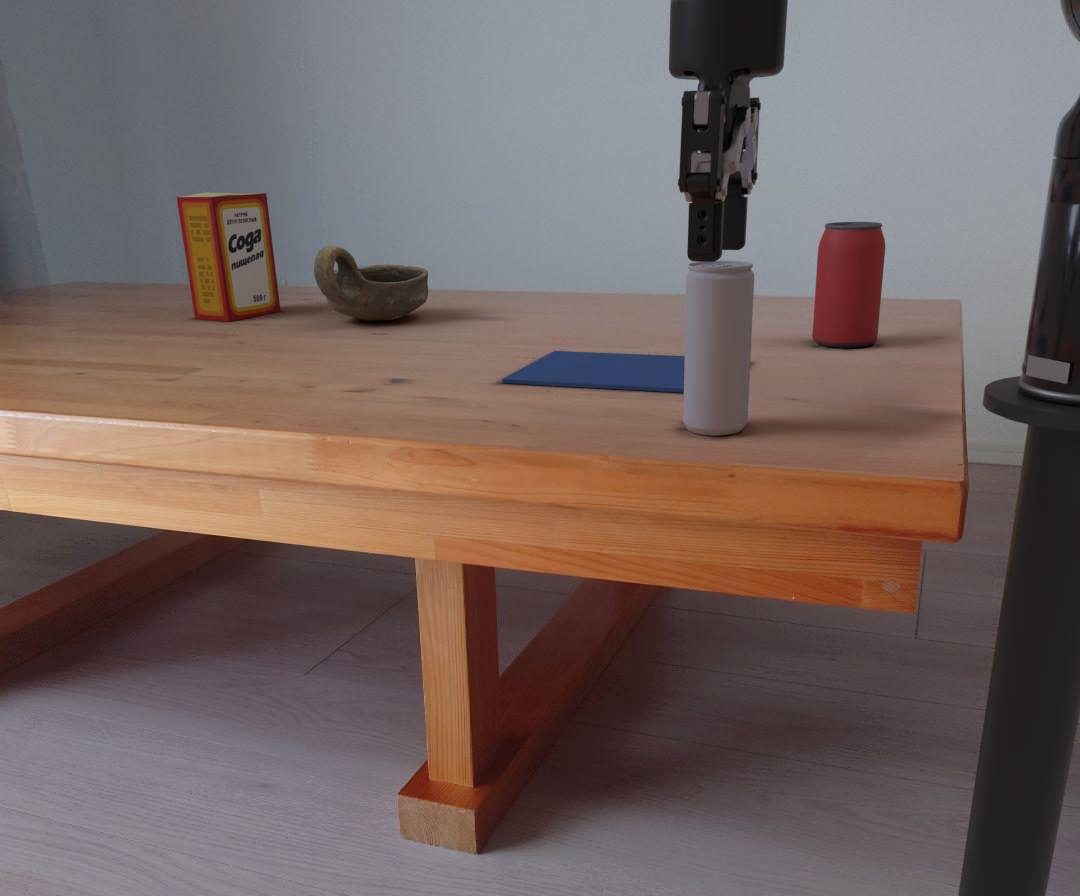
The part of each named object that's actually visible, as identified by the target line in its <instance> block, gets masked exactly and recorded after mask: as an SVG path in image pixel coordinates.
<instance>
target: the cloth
mask: <svg viewBox="0 0 1080 896" xmlns="http://www.w3.org/2000/svg"><path fill="white" fill-rule="evenodd" d="M684 366H685V355H669V354H668V355H667V354H666V355H665V354H641V353H620V352H619V353H618V352H617V353H616V352H593V351H567V350H565V351H564V350H554V351H552V352H549V353H548V354H546V355H543V356H542V357H540V358H539V359H536V360H535V361H533V362H531V363H529V364H528V365H526V366H524V367H522V368H520V369H518V370H517V371H514V372H513V373H511V374H509V375H507V376H505V377H503V378H502V380H501V384H508V385H511V384H513V385H530V386H546V387H547V386H548V387H565V388H566V387H567V388H586V389H587V388H588V389H589V388H590V389H604V390H605V389H607V390H625V391H640V392H641V391H642V392H643V391H644V392H659V393H661V392H663V393H680V394H681V393H683V394H684Z"/></svg>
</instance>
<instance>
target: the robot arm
mask: <svg viewBox="0 0 1080 896" xmlns="http://www.w3.org/2000/svg"><path fill="white" fill-rule="evenodd" d="M788 2H789V0H670V4H669V5H670V6H669V40H668V43H669V46H668V47H669V48H668V72H669V74H670V75H671V76H672V77H673V78H675V79H678V80H687V81H688V80H689V81H698V84H697V90H684V91H683V94H682V97H681V126H680V127H681V128H680V129H681V130H680V148H679V149H680V150H679V151H680V153H679V173H678V174H679V175H678V176H679V178H678V179H677V187H678V190H679V193H683V194H684V195H683V196H684V198H685V201H686V202H687V203H688V218H687V219H688V220H687V221H688V222H687V224H688V225H687V248H686V249H687V250H686V251H687V252H686V253H687V258H688V259H689V261H691V262H714V261H720V259H721V258H722V256H723V251H739V250H742V249H743V248H744V247H745V245H746V243H747V242H746V239H747V222H748V221H747V220H748V205H749V204H748V202H749V196H750V195H751V193H752V190H753V188H754V186H755V185H756V183H757V180H758V176H759V175H758V172H757V171H758V149H759V148H758V147H759V129H760V128H759V127H760V111H761V108H762V104H761V102H760V97H759V96H757V97H751V88H750V84H751V82H752V80H753V79H755V78H768V77H773V76H777V75H779V74H780V73H781V72H782V71H783V68H784V64H785V50H786V37H787V35H786V33H787V32H786V31H787V19H788V5H789V3H788ZM1059 5H1060V9H1061V13H1062V16H1063V20H1064V22H1065V25H1066V26H1067V28H1068V30H1069V31H1070V33H1071V35H1072V36H1073V37H1074V39H1075V40H1076V41H1077V42H1078V43H1080V0H1059ZM1053 146H1054V147H1053V151H1052V152H1053V153H1052V157H1053V158H1052V159H1051V166H1050V174H1049V180H1048V187H1047V194H1046V199H1045V200H1046V202H1045V207H1044V216H1043V221H1042V228H1041V229H1042V230H1041V235H1040V241H1039V250H1038V257H1037V264H1036V270H1035V271H1036V272H1035V278H1034V286H1033V292H1032V299H1031V306H1030V312H1029V313H1030V314H1029V320H1028V325H1027V334H1026V340H1025V347H1024V348H1025V349H1024V356H1023V360H1022V366H1021V375H1020V376H1021V377H1020V379H1019V386H1018V391H1019V392H1020V393H1021V394H1023V395H1025V396H1027V397H1030V398H1032V399H1035V400H1039V401H1043V402H1048V403H1053V404H1059V405H1066V406H1075V407H1080V94H1079V95H1078V96H1077V99H1076V100H1075V102H1074V103H1073V105H1072V106H1071V107H1070V108H1069V109H1068V111H1066V113H1065V114H1063V116H1062V118H1061V119H1060V120H1059V122H1058V125H1057V127H1056V133H1055V139H1054V145H1053Z"/></svg>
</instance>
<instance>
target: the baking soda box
mask: <svg viewBox="0 0 1080 896" xmlns="http://www.w3.org/2000/svg"><path fill="white" fill-rule="evenodd" d="M176 203H177V209H178V215H179V222H180V228H181V235H182V240H183V241H182V242H183V249H184V255H185V260H186V267H187V275H188V280H189V287H190V294H191V300H192V308H193V313H194V314H193V315H194V319H195V320H206V321H217V322H233V321H239V320H244V319H249V318H253V317H259V316H263V315H268V314H273V313H279V312H281V303H280V302H281V301H280V294H279V287H278V278H277V277H278V276H277V271H276V262H275V254H274V245H273V236H272V230H271V220H270V211H269V204H268V203H269V202H268V196H267V193H266V192H261V193H260V192H259V193H258V192H256V193H255V192H253V193H251V192H247V193H244V192H243V193H242V192H241V193H239V192H238V193H236V192H235V193H234V192H201V193H194V194H189V195H187V194H186V195H182V196H177V197H176Z"/></svg>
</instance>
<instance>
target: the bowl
mask: <svg viewBox="0 0 1080 896" xmlns="http://www.w3.org/2000/svg"><path fill="white" fill-rule="evenodd" d="M315 256H316V257H315V259H314V263H313V274H314V279H315V282H316V285H317V287H318V289H319V290H320V292H321V294H322V295H323V296H325V298H326V302H327V303H328V306H329V307H330V308H331V309H332V310H334V311H335V312H336V313H339V314H342V315H344V316H347V317H351V318H354V319H357V320H360V321H367V322H385V321H393V320H396V319H399V318H402V317H404V316H406V315H409V314H410V313H412V312H414V311H416V310H417V309H418V308H420V307H422V306H423V305H424V304H425V303H427V301H428V297H429V284H428V282H429V281H428V280H429V271H428V270H427V269H426V268H423V267H419V266H414V265H413V266H412V265H403V264H373V265H368V266H358V264H357V262H356V260H355V258H354V256H353V255H352V254H351V253H350V252H349V251H348V250H347V249H345V248H343V247H340V246H337V245H324V247H322V248H320V249H319V250H318V252H317V253H316V255H315ZM335 265H337V269H334V268H335Z"/></svg>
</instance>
